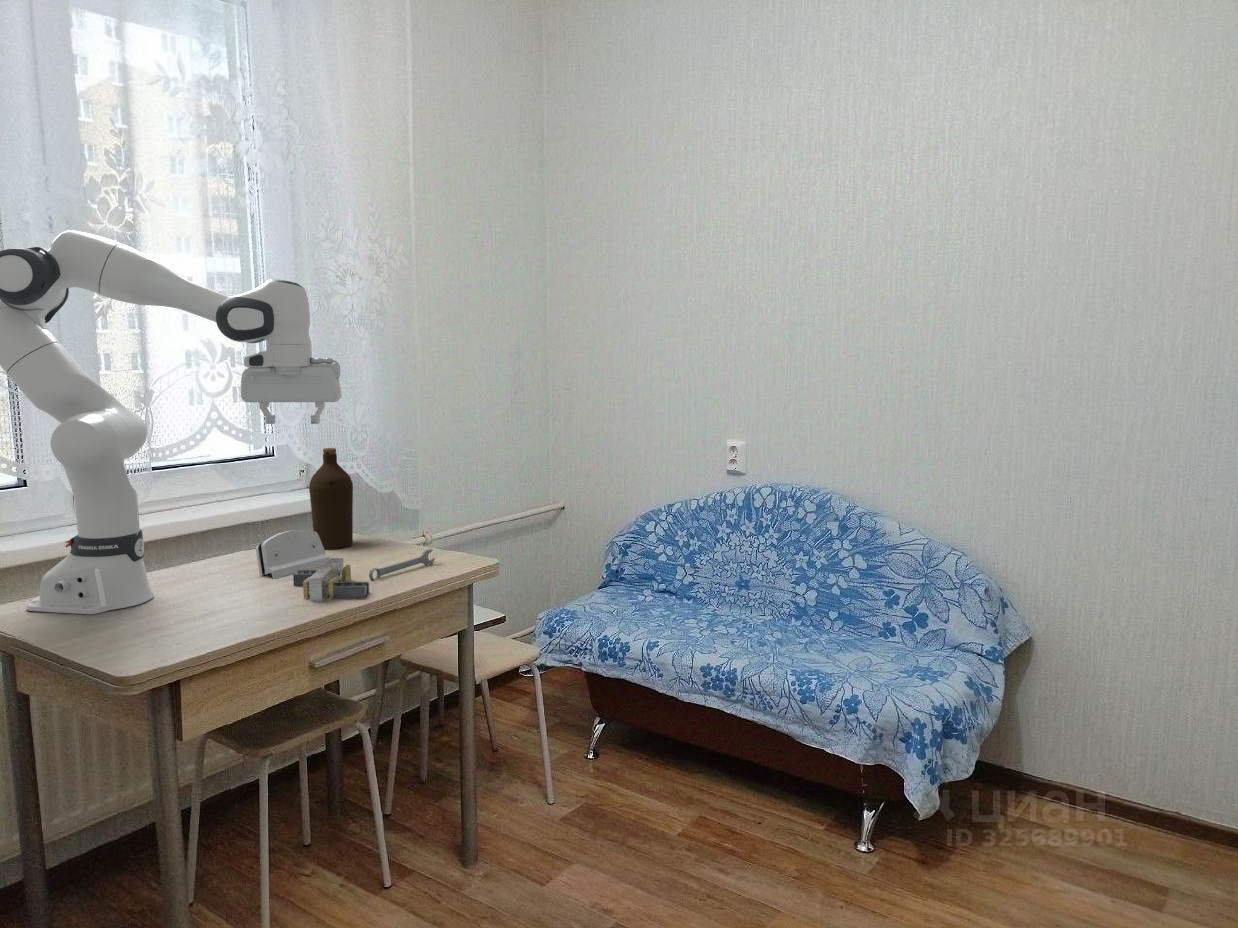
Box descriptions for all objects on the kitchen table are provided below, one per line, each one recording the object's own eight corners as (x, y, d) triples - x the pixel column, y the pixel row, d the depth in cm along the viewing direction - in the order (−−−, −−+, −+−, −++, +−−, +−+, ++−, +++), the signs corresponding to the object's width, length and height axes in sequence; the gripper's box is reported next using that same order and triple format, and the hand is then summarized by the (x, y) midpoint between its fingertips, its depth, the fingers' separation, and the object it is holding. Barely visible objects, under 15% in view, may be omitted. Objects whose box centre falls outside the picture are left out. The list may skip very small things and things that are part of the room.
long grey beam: (309, 602, 193) (308, 578, 192) (332, 579, 210) (331, 557, 209) (322, 601, 193) (321, 578, 192) (344, 579, 210) (343, 557, 209)
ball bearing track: (278, 598, 194) (277, 582, 194) (299, 580, 208) (298, 565, 208) (364, 598, 195) (364, 581, 194) (380, 580, 208) (379, 564, 208)
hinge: (273, 578, 209) (261, 535, 210) (260, 583, 212) (249, 540, 213) (333, 563, 223) (321, 522, 224) (320, 567, 226) (309, 527, 226)
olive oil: (363, 544, 242) (359, 448, 239) (327, 552, 234) (322, 452, 231) (340, 538, 249) (335, 444, 245) (303, 545, 241) (299, 448, 237)
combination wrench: (371, 568, 207) (437, 548, 223) (367, 567, 208) (433, 547, 224) (372, 584, 208) (437, 563, 224) (368, 583, 208) (433, 562, 225)
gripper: (343, 357, 201) (346, 422, 203) (246, 357, 201) (250, 422, 203) (335, 358, 195) (338, 425, 197) (235, 358, 195) (239, 425, 197)
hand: (293, 423), depth 200 cm, fingers open, 8 cm apart
